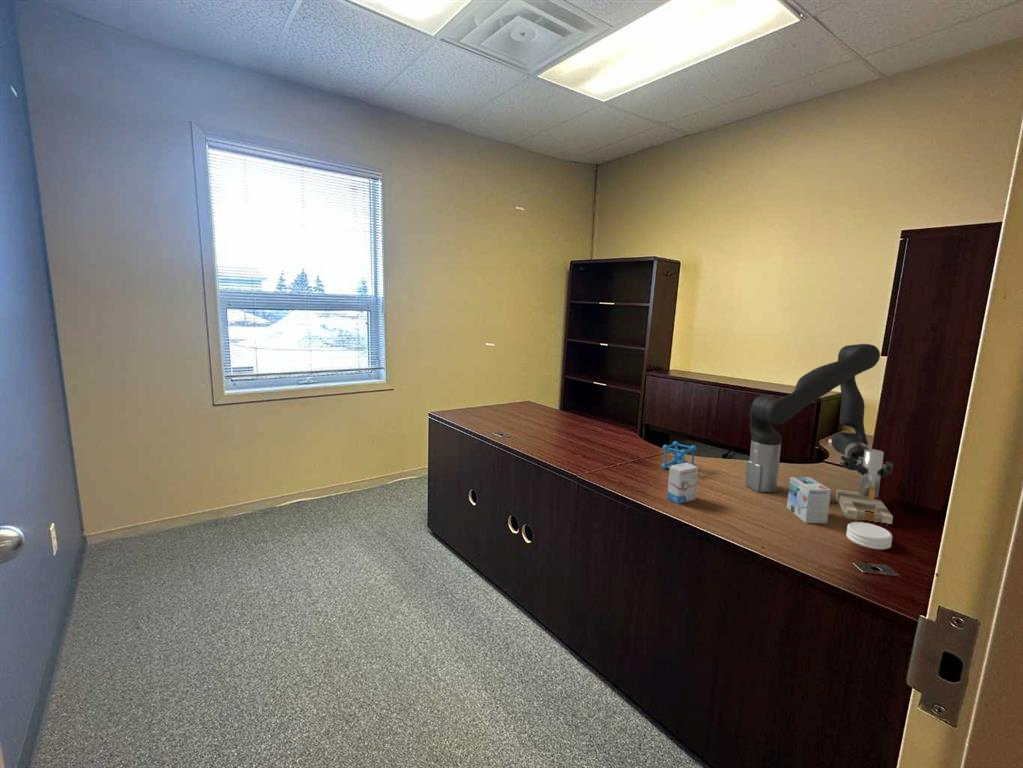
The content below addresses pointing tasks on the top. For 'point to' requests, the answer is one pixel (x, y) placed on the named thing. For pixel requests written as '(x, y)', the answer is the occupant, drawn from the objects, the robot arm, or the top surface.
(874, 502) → the hub plate
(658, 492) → the top surface
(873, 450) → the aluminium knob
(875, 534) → the coaster
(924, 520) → the top surface
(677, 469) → the ink box
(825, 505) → the light bulb box
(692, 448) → the molecular structure
